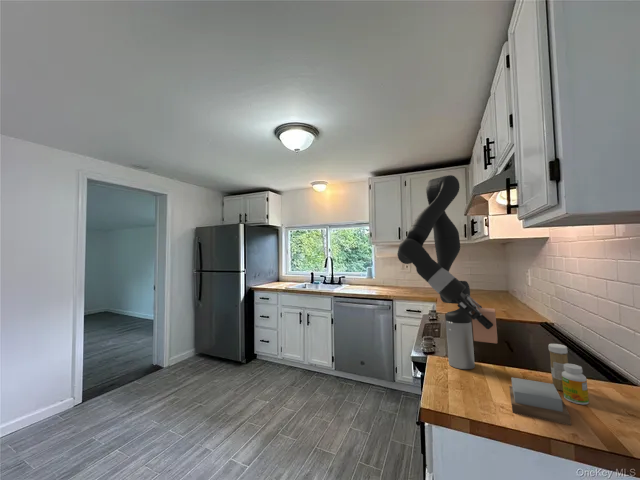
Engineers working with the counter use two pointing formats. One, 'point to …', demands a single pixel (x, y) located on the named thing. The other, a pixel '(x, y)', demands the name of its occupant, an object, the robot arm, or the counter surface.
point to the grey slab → (536, 394)
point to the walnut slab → (541, 411)
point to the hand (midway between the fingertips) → (491, 324)
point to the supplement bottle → (574, 384)
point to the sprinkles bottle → (558, 363)
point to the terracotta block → (480, 331)
